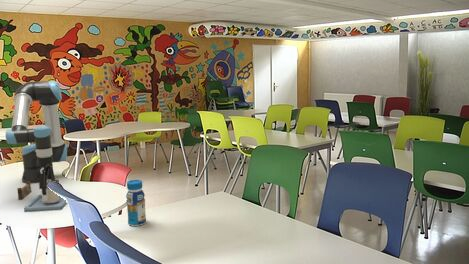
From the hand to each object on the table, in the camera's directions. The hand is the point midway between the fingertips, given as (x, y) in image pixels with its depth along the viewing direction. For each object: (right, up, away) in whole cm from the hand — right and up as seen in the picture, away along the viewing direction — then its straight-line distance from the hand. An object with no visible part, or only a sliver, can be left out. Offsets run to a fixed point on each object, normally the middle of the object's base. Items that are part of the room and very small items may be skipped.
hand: (49, 197), depth 211 cm
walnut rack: (-13, -1, +16) cm, 21 cm away
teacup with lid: (0, -2, +1) cm, 2 cm away
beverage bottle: (+54, -8, -27) cm, 61 cm away
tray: (0, -4, +1) cm, 4 cm away
